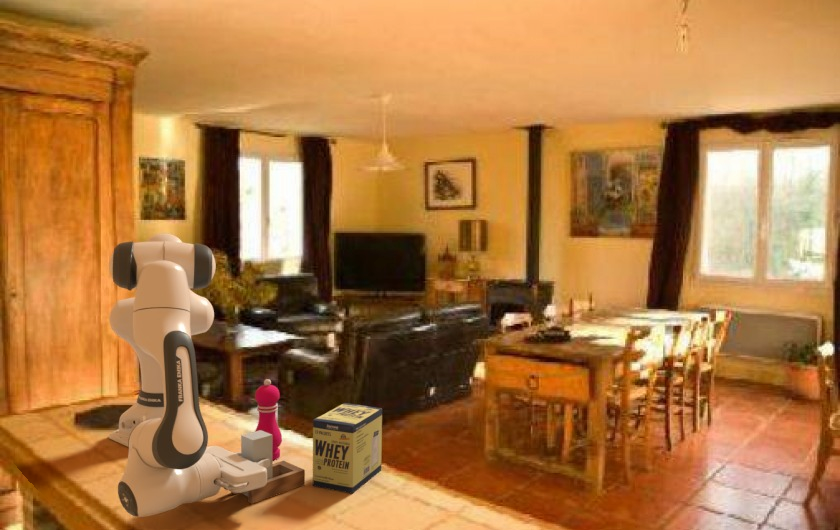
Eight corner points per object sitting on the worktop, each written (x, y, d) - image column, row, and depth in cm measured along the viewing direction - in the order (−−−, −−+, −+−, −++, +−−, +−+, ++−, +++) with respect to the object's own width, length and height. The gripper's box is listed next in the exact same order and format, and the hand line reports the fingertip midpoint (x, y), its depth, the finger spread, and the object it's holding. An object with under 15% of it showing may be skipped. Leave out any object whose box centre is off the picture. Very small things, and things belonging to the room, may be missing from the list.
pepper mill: (274, 463, 163) (274, 383, 161) (247, 460, 164) (247, 381, 163) (286, 453, 170) (286, 376, 168) (260, 450, 171) (260, 374, 170)
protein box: (311, 486, 149) (311, 419, 148) (344, 463, 164) (344, 401, 163) (352, 494, 145) (353, 425, 144) (382, 470, 160) (383, 407, 159)
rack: (251, 503, 140) (251, 487, 140) (230, 492, 145) (230, 477, 145) (304, 484, 150) (304, 469, 150) (283, 475, 155) (283, 460, 155)
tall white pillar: (253, 499, 142) (252, 440, 141) (241, 493, 145) (241, 435, 144) (272, 492, 146) (272, 434, 145) (260, 486, 149) (260, 430, 148)
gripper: (230, 475, 128) (288, 456, 138) (178, 448, 142) (235, 433, 152) (230, 506, 129) (288, 485, 139) (178, 477, 142) (235, 460, 152)
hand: (260, 458), depth 146 cm, fingers closed on tall white pillar, 4 cm apart
